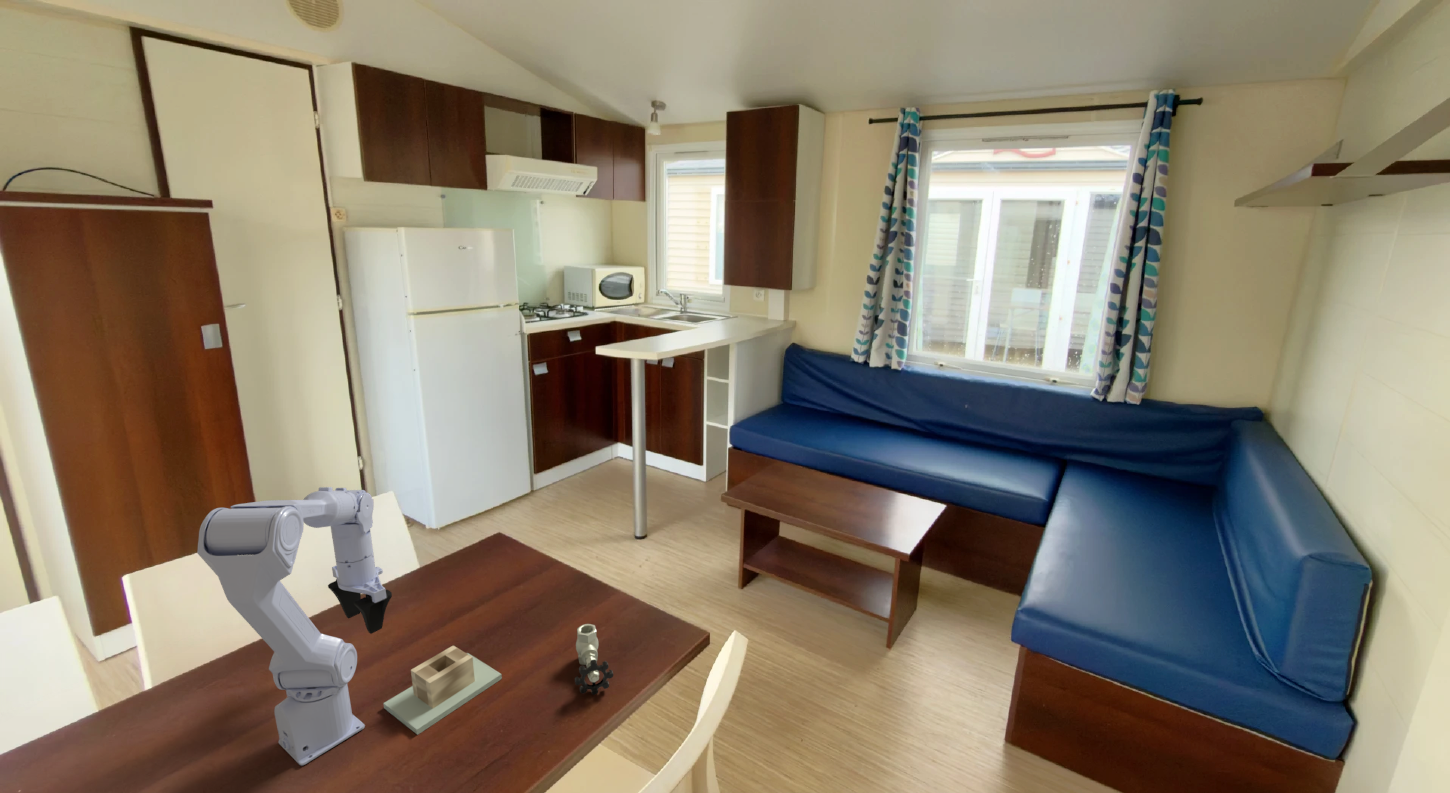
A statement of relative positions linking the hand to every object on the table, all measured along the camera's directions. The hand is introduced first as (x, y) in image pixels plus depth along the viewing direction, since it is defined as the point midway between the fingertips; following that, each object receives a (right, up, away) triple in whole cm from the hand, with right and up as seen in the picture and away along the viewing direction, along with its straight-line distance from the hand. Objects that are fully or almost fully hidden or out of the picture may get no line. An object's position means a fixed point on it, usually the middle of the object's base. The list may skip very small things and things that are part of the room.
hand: (364, 622), depth 113 cm
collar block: (+16, -10, -4) cm, 19 cm away
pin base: (+16, -11, -4) cm, 20 cm away
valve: (+40, -10, +2) cm, 42 cm away
